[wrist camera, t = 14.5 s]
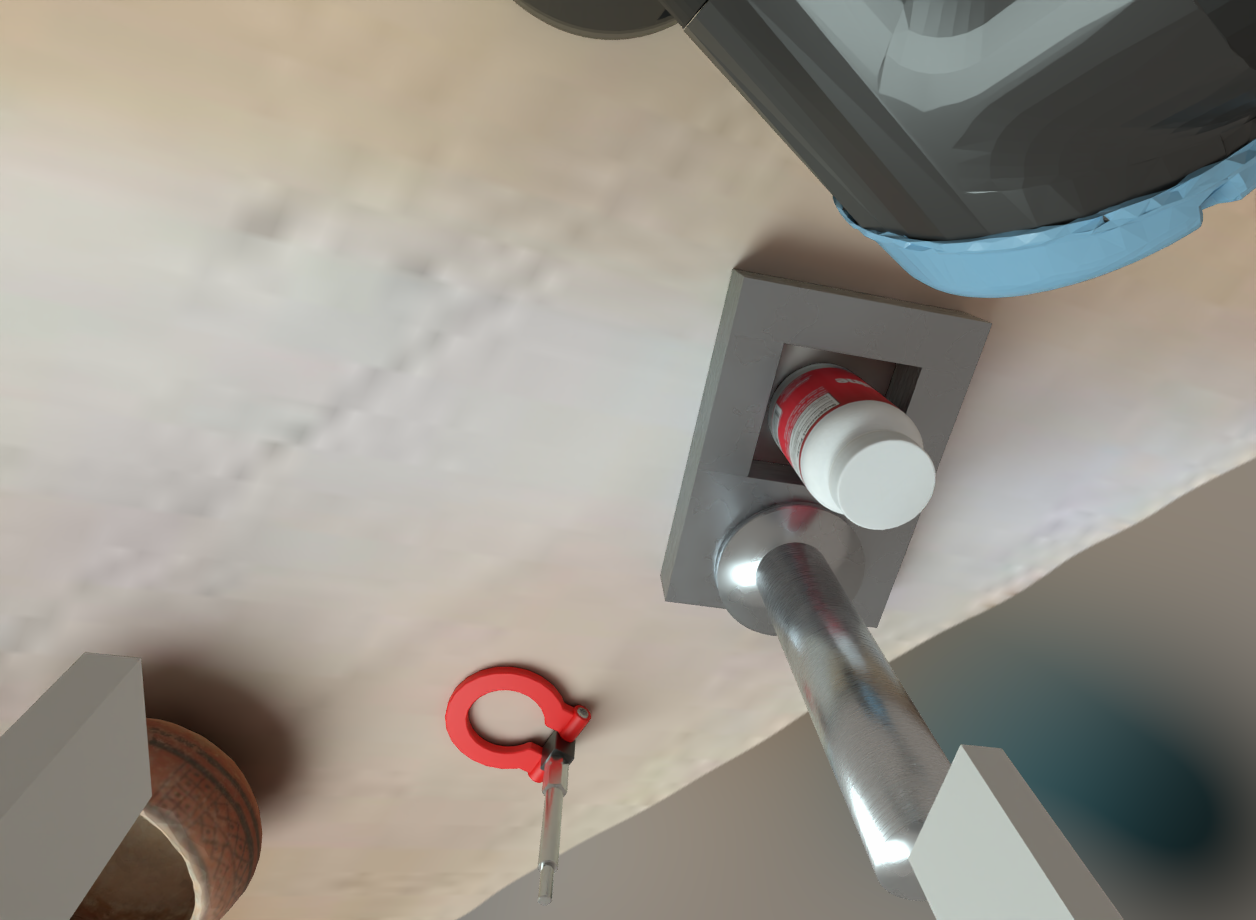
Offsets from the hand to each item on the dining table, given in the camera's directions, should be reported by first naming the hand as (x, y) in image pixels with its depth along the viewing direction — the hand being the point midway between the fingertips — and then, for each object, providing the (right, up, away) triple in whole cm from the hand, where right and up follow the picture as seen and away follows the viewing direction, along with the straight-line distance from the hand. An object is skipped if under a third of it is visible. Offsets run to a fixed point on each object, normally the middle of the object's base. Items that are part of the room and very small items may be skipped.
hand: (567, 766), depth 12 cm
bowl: (-31, -17, +40) cm, 53 cm away
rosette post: (+12, +5, +33) cm, 36 cm away
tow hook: (-7, -13, +40) cm, 43 cm away
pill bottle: (+12, +8, +32) cm, 35 cm away
